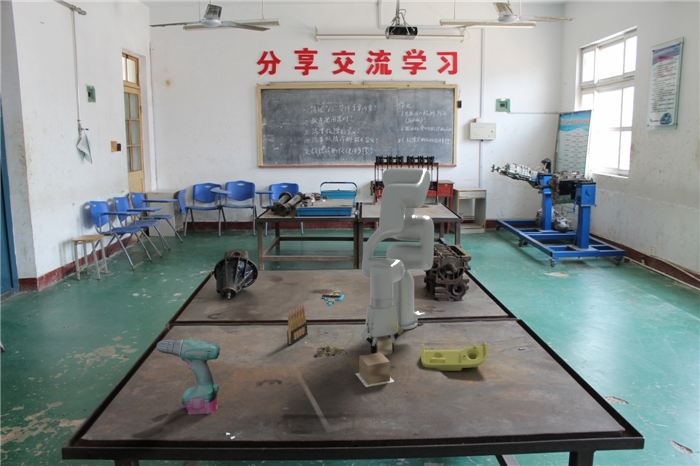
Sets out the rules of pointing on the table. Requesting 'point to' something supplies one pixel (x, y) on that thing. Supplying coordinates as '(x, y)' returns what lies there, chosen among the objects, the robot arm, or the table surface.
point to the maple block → (384, 345)
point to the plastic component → (454, 358)
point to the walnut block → (374, 368)
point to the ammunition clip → (296, 325)
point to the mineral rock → (330, 351)
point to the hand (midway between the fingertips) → (382, 353)
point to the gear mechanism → (333, 297)
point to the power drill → (196, 372)
